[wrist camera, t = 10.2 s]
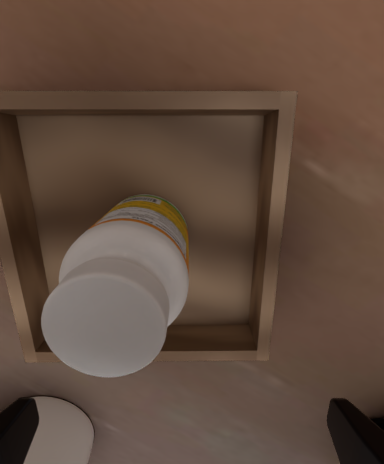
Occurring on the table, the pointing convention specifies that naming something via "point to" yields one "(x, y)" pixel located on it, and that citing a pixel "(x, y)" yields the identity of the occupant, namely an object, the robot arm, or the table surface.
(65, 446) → the candle holder
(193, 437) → the table surface
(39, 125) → the box
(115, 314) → the supplement bottle
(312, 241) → the table surface
